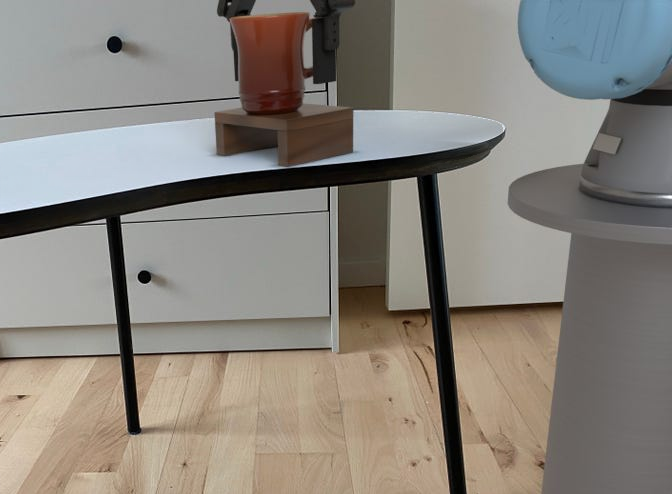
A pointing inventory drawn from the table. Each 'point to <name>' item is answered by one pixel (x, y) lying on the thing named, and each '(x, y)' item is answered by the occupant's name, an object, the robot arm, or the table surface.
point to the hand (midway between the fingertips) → (283, 81)
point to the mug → (271, 61)
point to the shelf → (287, 133)
